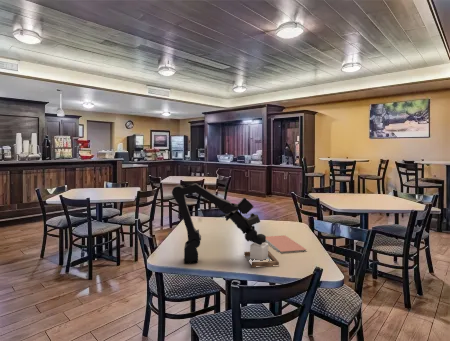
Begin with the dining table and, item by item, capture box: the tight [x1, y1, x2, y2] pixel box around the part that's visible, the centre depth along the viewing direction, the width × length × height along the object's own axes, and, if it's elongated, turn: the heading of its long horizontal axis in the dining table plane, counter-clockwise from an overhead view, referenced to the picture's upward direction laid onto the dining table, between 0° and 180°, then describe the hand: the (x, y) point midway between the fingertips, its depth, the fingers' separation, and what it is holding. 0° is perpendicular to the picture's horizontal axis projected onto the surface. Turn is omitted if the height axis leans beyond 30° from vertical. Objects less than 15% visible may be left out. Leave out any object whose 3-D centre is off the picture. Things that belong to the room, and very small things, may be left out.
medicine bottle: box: [249, 233, 269, 261], centre depth 150 cm, size 7×7×12 cm
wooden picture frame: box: [243, 250, 280, 268], centre depth 151 cm, size 14×16×2 cm
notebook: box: [266, 234, 307, 254], centre depth 176 cm, size 27×17×2 cm, turn 14°
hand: (260, 242), depth 150 cm, fingers closed on medicine bottle, 6 cm apart
